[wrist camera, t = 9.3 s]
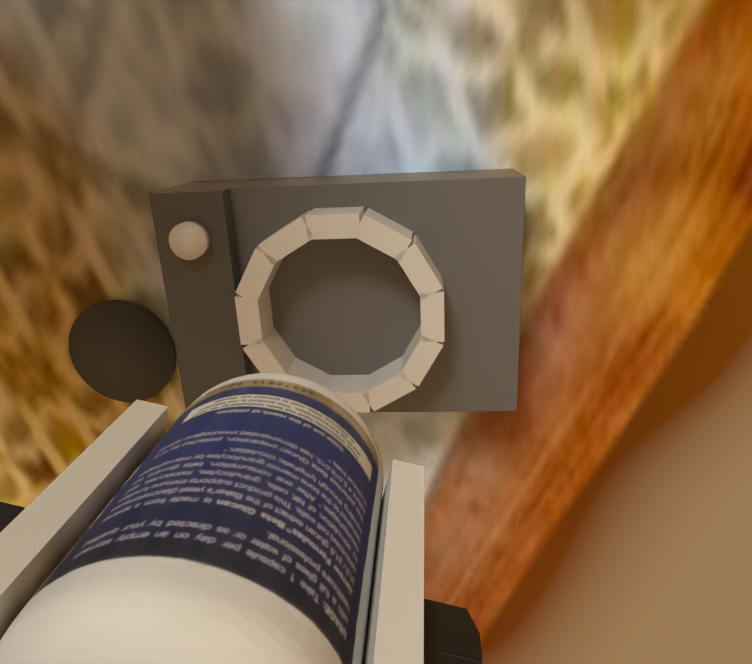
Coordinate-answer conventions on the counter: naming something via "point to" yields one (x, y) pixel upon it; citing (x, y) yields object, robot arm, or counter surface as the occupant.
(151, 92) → the counter surface
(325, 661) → the pill bottle
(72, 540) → the robot arm
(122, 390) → the lens cap
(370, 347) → the camera body
